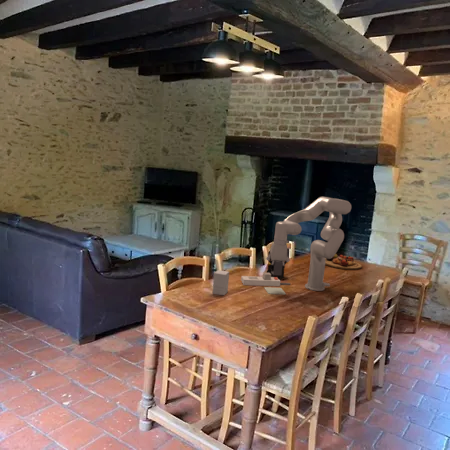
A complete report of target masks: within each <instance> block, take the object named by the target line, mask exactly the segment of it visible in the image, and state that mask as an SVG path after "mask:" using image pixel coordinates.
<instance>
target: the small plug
mask: <svg viewBox="0 0 450 450" xmlns="http://www.w3.org/2000/svg"><path fill="white" fill-rule="evenodd" d="M262 277H263V279H264V280H271V274H270V273H267V272H263V275H262Z"/></svg>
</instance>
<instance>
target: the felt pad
mask: <svg viewBox="0 0 450 450" xmlns="http://www.w3.org/2000/svg"><path fill="white" fill-rule="evenodd" d="M263 287H264V288H263V289H264V290H265V291H266V293H267V294H268V295H286V294H287V293H286V292H285V290H283V288H282V287H272V286H263Z"/></svg>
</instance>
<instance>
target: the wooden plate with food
mask: <svg viewBox="0 0 450 450" xmlns="http://www.w3.org/2000/svg"><path fill="white" fill-rule="evenodd" d="M354 260H355V259H354V256H351V255H349V256H346V255H343V254H339V256H338V253H336V254H335V255H334V256H333V257H332V258H330V259H327V258H325V266H328V267H331V268H335V269H341V270H349V271H355V270H357V271H358V270H361V269H362V267H363V266H362V264H360V263H359V262H356V261H354Z"/></svg>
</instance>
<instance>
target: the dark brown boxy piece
mask: <svg viewBox="0 0 450 450" xmlns="http://www.w3.org/2000/svg"><path fill="white" fill-rule="evenodd" d="M285 267H286V264H285V265H284V268H283V270H282V274H281V275H273V274H272V273H271V269H270V268H271V264H270V262H269V261H268V263H267V270H266V273H270V274H271V277H277V278H278V279H279V280H280V281H281V280H282V279H283V278H284V277H285V276H284V275H285Z"/></svg>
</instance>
